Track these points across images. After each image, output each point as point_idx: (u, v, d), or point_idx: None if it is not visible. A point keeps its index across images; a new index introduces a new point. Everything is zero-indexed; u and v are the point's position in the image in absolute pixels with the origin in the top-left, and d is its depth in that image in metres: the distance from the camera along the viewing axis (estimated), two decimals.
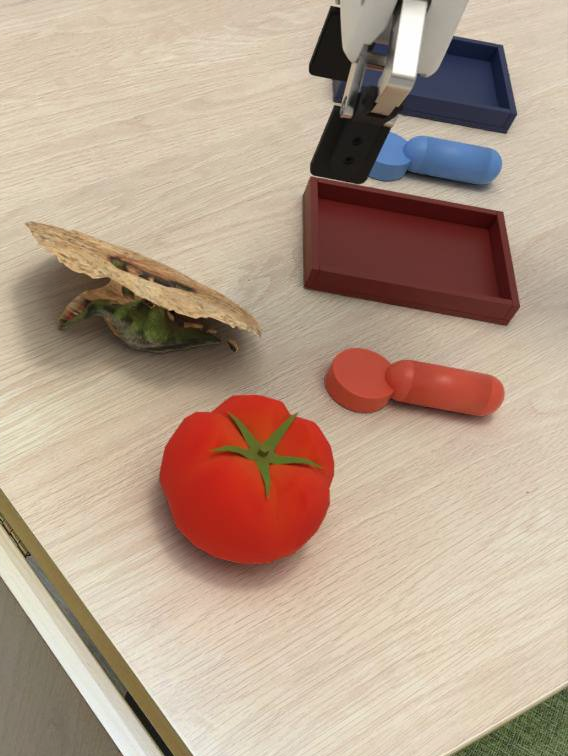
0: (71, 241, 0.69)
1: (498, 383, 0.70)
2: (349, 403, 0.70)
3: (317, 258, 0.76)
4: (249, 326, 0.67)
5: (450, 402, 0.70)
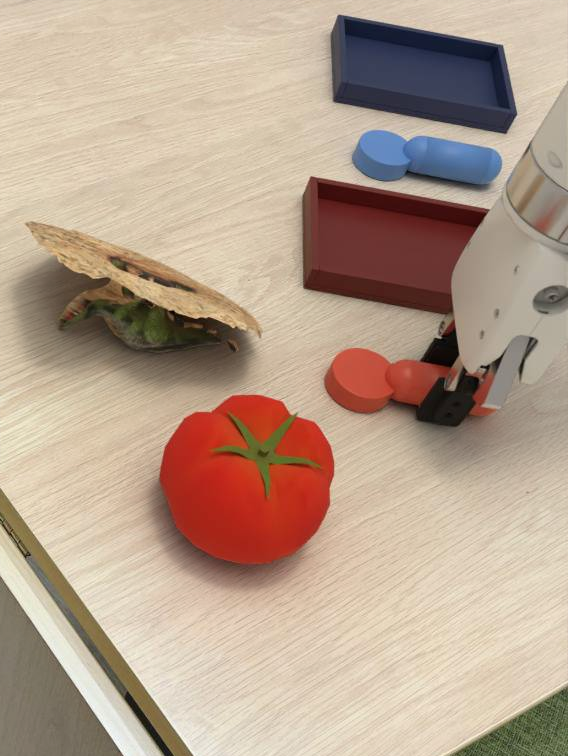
0: (71, 241, 0.69)
1: None
2: (349, 403, 0.70)
3: (317, 258, 0.76)
4: (249, 326, 0.67)
5: None
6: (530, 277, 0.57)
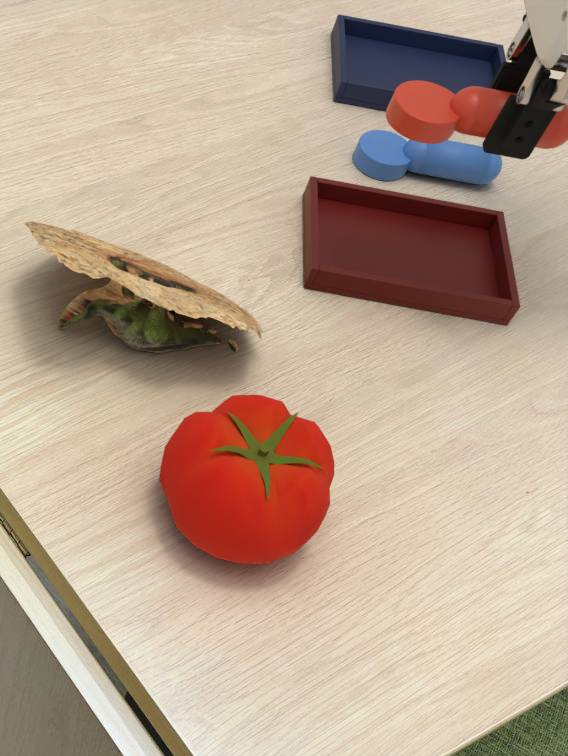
0: (71, 241, 0.69)
1: None
2: (413, 132, 0.67)
3: (317, 258, 0.76)
4: (249, 326, 0.67)
5: None
6: None
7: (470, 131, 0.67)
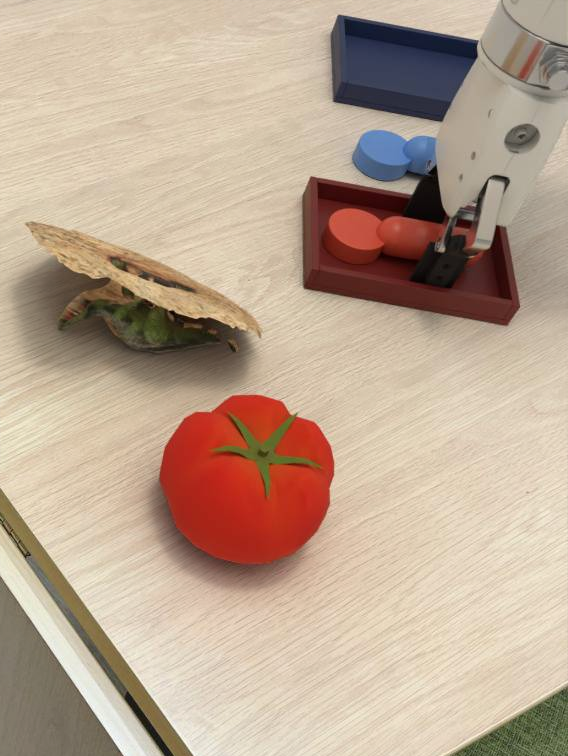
0: (71, 241, 0.69)
1: None
2: (344, 255, 0.78)
3: (317, 258, 0.76)
4: (249, 326, 0.67)
5: None
6: (502, 117, 0.65)
7: (393, 254, 0.79)
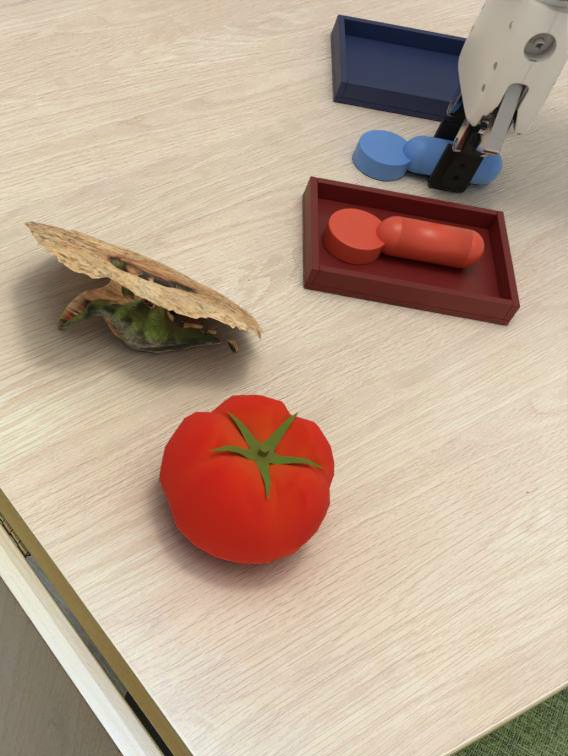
0: (71, 241, 0.69)
1: (478, 236, 0.78)
2: (344, 255, 0.78)
3: (317, 258, 0.76)
4: (249, 326, 0.67)
5: (435, 254, 0.78)
6: (522, 28, 0.72)
7: (393, 254, 0.79)
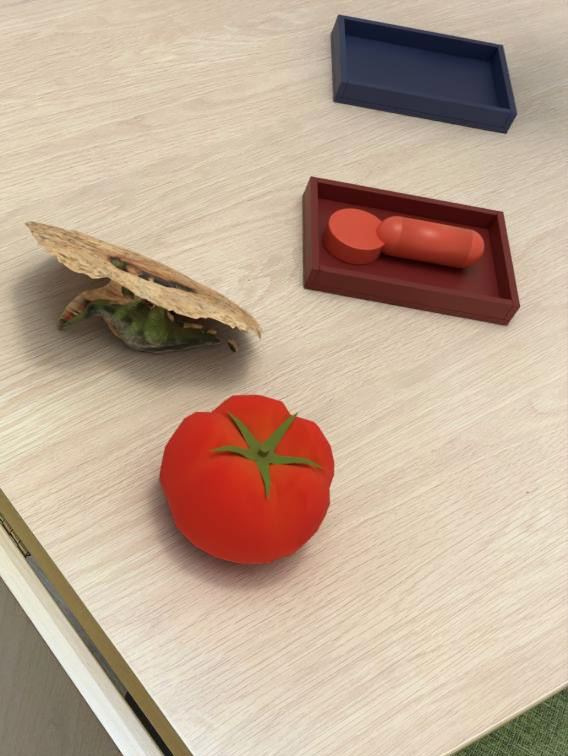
0: (71, 241, 0.69)
1: (478, 236, 0.78)
2: (344, 255, 0.78)
3: (317, 258, 0.76)
4: (249, 326, 0.67)
5: (435, 254, 0.78)
6: None
7: (393, 254, 0.79)
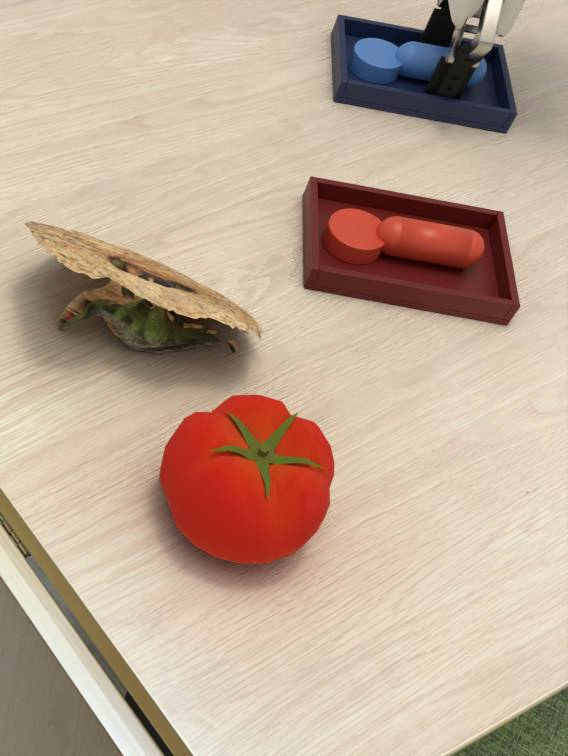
0: (71, 241, 0.69)
1: (478, 236, 0.78)
2: (344, 255, 0.78)
3: (317, 258, 0.76)
4: (249, 327, 0.67)
5: (435, 254, 0.78)
6: None
7: (393, 254, 0.79)
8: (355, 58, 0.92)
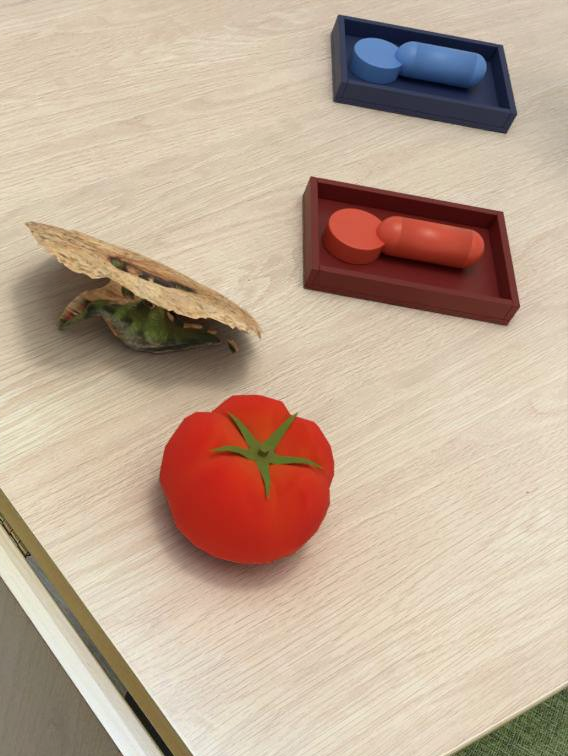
0: (71, 241, 0.69)
1: (478, 236, 0.78)
2: (344, 255, 0.78)
3: (317, 258, 0.76)
4: (249, 327, 0.67)
5: (435, 254, 0.78)
6: None
7: (393, 254, 0.79)
8: (355, 58, 0.92)
